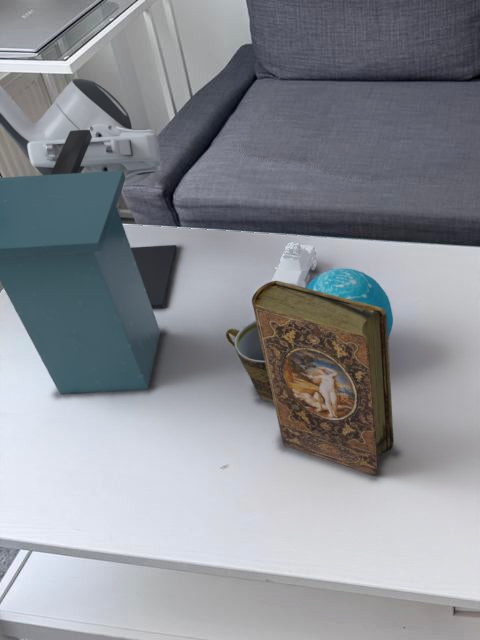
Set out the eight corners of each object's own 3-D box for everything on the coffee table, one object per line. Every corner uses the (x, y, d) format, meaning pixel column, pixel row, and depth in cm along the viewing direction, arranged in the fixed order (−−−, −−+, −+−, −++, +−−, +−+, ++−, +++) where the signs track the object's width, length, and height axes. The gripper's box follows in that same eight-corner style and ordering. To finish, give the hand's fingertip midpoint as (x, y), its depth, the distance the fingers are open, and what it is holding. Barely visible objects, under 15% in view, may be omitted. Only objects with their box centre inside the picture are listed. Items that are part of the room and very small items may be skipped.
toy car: (269, 298, 131) (263, 264, 125) (290, 258, 138) (284, 225, 132) (302, 302, 130) (297, 268, 124) (321, 262, 137) (317, 228, 131)
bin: (147, 389, 118) (89, 243, 97) (59, 394, 118) (-18, 249, 97) (160, 332, 126) (109, 186, 106) (78, 337, 127) (11, 192, 106)
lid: (101, 251, 96) (98, 242, 95) (-37, 259, 96) (-42, 250, 95) (140, 134, 115) (138, 126, 114) (24, 141, 115) (21, 133, 114)
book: (277, 444, 110) (244, 303, 90) (295, 419, 113) (267, 278, 93) (378, 478, 105) (367, 337, 85) (394, 451, 108) (387, 309, 88)
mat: (163, 308, 130) (162, 304, 130) (89, 312, 131) (88, 308, 130) (177, 248, 141) (176, 244, 141) (109, 252, 142) (107, 248, 141)
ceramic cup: (322, 379, 118) (315, 328, 110) (288, 420, 113) (278, 370, 105) (254, 355, 122) (242, 305, 114) (218, 394, 117) (203, 344, 109)
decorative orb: (323, 320, 127) (312, 241, 115) (406, 336, 123) (404, 256, 111) (287, 378, 118) (271, 299, 106) (375, 397, 115) (370, 318, 103)
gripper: (43, 136, 125) (6, 129, 112) (164, 129, 125) (141, 121, 112) (51, 177, 128) (16, 174, 115) (170, 170, 127) (148, 167, 115)
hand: (78, 148), depth 113 cm, fingers open, 8 cm apart
